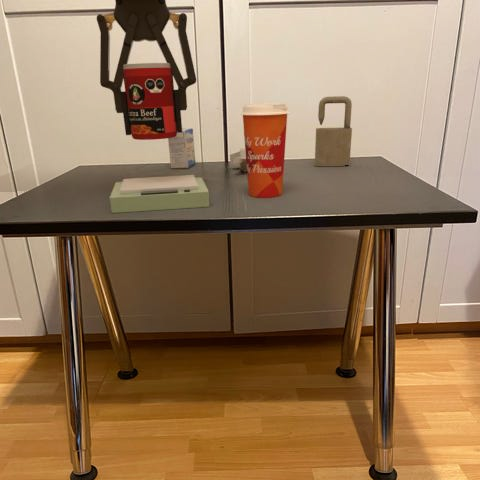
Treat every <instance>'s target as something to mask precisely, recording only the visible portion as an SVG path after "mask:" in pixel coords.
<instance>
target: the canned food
mask: <svg viewBox="0 0 480 480" xmlns="http://www.w3.org/2000/svg"><path fill="white" fill-rule="evenodd" d="M123 72H124V76H123V78H124V79H123V85H124V92H126V100H127V108H128V116H129V124H130V132H131V135H130V136H131V137H132V140H137V141H138V140H139V141H151V140H165V139H166V140H167V139H168V138H173V137H176V135H177V121H176V109H175V96H174V90H175V86H174V77H173V74H172V72H171V67H170V64H169V63H167V62H142V63H140V62H139V63H138V62H137V63H128V64H124V65H123Z"/></svg>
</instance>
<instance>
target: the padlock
mask: <svg viewBox="0 0 480 480" xmlns="http://www.w3.org/2000/svg"><path fill="white" fill-rule="evenodd" d="M329 104H345V105H344V120H343V127H316V128H315V147H314V167H345V165H351V164H350V163H351V149H352V136H353V128H352V127H351V124H352V123H351V121H352V107H353V106H352V104H353V103H352V100H351V99H350V98H349V97H348V96H345V95H337V96H324V97H323V98H321V100H319V102H318V112H317V115H318V116H317V118H318V122H319V125H320V126H322V125H323V123H324V121H325V118H326V117H325V115H326V114H325V113H326V112H325V111H326V105H329Z"/></svg>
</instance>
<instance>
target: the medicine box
mask: <svg viewBox="0 0 480 480" xmlns="http://www.w3.org/2000/svg"><path fill="white" fill-rule="evenodd" d="M194 137H195V136H194V128H192V127H182V133H178V132H177V135H176V137H173V138H167V142H168V143H167V144H168V153H169V161H170V168H171V169H179V170H180V169H185V170H186V169H187V170H188V169H190V168H191V167H192V166H193V165H195V164H196V151H195V150H196V149H195V139H194Z"/></svg>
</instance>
